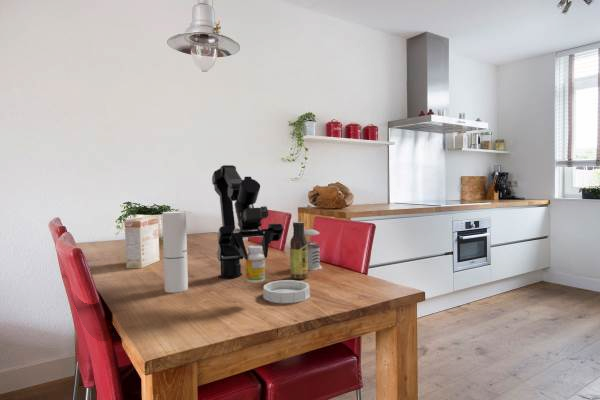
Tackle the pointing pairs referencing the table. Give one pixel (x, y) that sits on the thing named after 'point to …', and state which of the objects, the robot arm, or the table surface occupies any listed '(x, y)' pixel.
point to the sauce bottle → (298, 252)
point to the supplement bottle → (255, 264)
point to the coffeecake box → (141, 242)
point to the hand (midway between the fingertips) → (256, 257)
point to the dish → (286, 291)
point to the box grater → (312, 248)
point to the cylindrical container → (175, 251)
